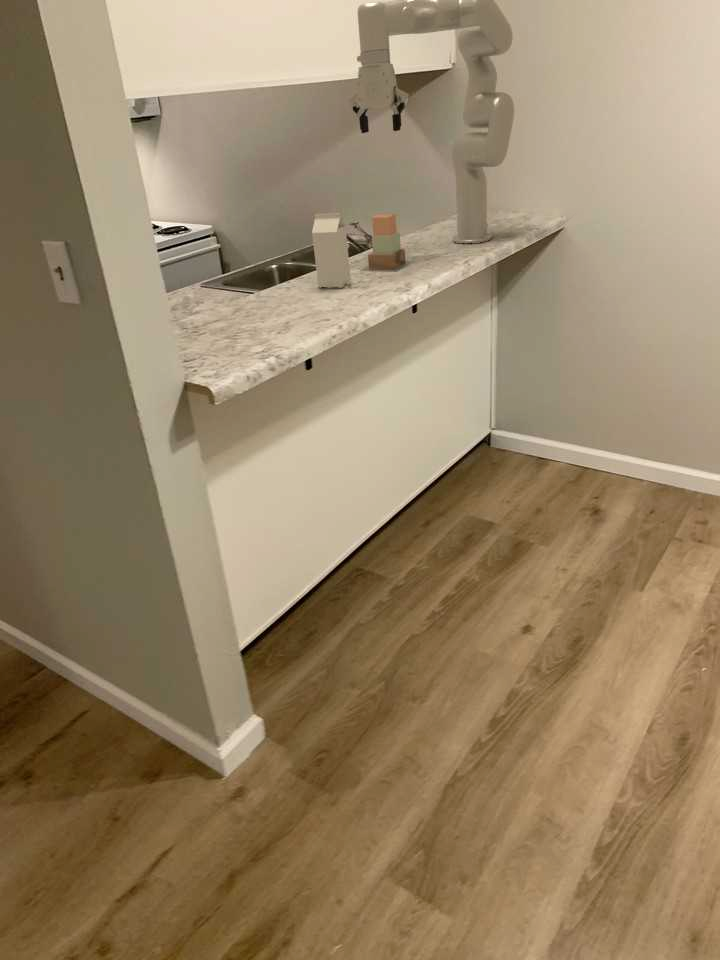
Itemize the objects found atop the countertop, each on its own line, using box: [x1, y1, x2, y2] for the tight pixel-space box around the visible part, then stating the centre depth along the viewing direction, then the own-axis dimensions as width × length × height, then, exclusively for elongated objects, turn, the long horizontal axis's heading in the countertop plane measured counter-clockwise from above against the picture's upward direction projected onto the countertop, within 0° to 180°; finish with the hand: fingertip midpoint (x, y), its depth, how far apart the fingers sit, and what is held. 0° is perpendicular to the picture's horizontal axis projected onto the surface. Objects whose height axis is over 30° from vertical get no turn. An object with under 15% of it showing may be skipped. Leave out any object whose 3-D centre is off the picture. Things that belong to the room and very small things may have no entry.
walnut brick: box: [367, 248, 406, 270], centre depth 213 cm, size 8×8×4 cm
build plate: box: [359, 260, 415, 273], centre depth 214 cm, size 12×12×1 cm
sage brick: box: [371, 231, 402, 254], centre depth 211 cm, size 6×6×5 cm
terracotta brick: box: [371, 213, 398, 236], centre depth 209 cm, size 5×5×5 cm
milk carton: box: [311, 212, 352, 289], centre depth 199 cm, size 7×7×19 cm
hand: (380, 131), depth 198 cm, fingers open, 9 cm apart
